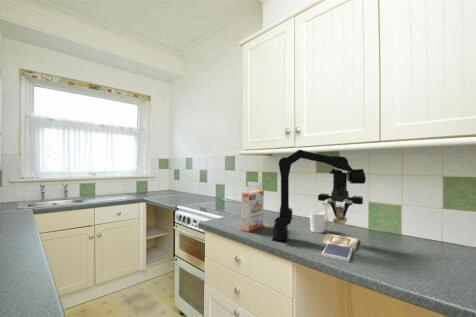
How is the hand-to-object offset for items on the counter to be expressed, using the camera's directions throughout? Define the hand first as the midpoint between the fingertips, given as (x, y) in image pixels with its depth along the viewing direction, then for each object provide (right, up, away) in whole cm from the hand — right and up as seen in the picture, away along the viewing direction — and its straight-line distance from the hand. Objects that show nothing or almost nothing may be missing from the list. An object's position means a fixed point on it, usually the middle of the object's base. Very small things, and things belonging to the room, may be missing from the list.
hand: (339, 217), depth 107 cm
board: (0, -12, 0) cm, 12 cm away
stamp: (0, -2, 0) cm, 2 cm away
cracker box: (-39, -12, +22) cm, 47 cm away
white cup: (-5, -12, +17) cm, 22 cm away
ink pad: (-6, -12, -12) cm, 18 cm away
